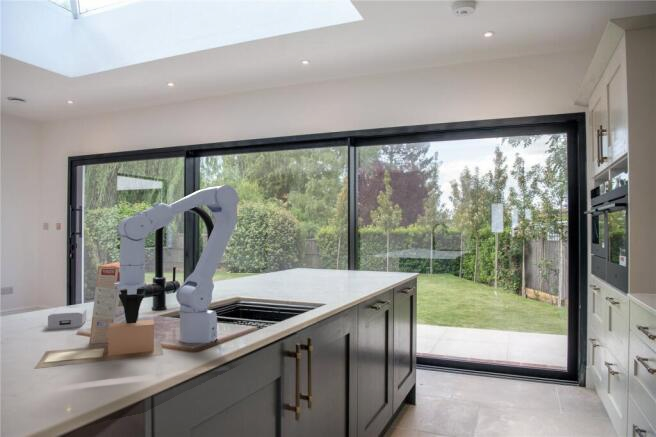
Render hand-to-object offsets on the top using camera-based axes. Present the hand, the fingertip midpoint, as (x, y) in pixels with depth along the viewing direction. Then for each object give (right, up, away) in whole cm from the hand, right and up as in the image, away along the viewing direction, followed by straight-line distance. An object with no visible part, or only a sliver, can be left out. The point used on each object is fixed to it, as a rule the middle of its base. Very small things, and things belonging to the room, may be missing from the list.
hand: (131, 319), depth 108 cm
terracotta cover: (0, -7, 0) cm, 7 cm away
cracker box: (-12, -9, +13) cm, 20 cm away
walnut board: (-5, -8, -3) cm, 10 cm away
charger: (-36, -9, +34) cm, 50 cm away
